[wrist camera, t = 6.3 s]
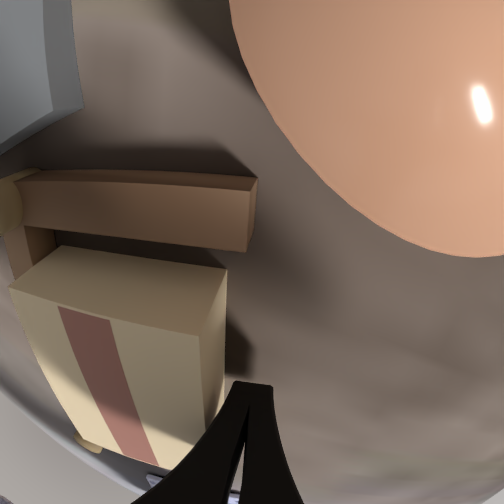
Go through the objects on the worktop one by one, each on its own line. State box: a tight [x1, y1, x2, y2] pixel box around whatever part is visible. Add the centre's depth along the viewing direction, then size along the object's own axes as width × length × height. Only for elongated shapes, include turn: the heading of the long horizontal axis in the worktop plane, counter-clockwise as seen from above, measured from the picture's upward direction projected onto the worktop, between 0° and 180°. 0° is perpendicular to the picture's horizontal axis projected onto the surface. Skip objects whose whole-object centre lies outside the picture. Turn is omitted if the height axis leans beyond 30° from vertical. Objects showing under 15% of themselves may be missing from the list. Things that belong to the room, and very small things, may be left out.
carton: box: [8, 245, 227, 470], centre depth 10 cm, size 9×6×4 cm
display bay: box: [0, 167, 258, 453], centre depth 11 cm, size 15×9×2 cm, turn 176°
